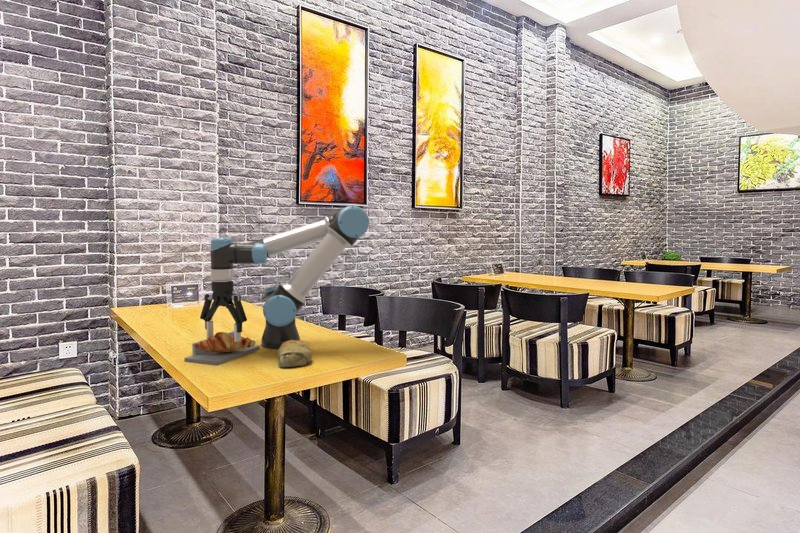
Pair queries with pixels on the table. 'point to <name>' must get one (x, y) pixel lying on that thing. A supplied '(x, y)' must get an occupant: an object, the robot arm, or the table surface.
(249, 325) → the table surface
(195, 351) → the divider
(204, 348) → the croissant
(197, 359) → the serving plate
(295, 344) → the pastry
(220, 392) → the table surface
